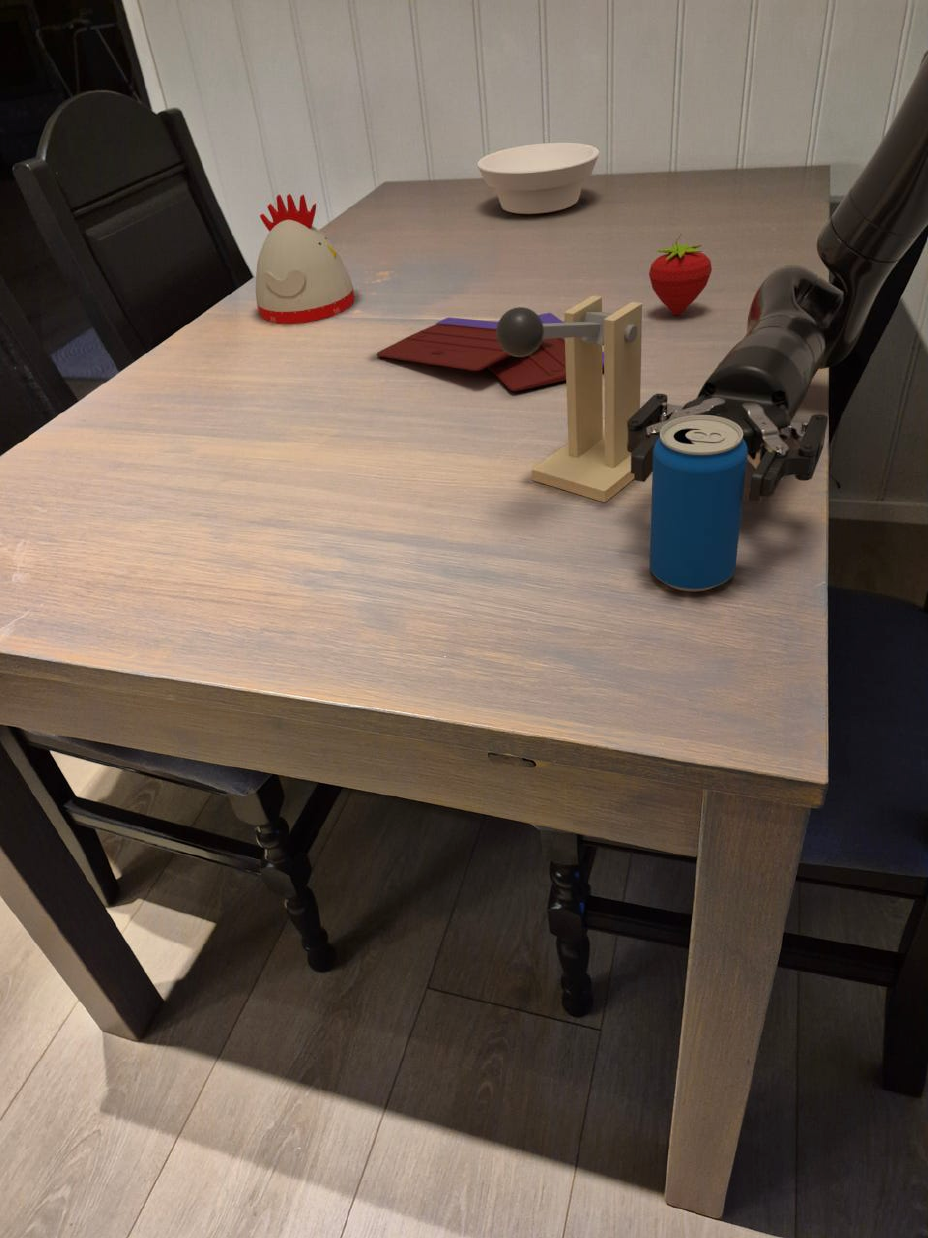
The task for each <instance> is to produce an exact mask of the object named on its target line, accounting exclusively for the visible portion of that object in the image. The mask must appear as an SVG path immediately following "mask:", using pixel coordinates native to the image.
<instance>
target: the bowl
mask: <svg viewBox="0 0 928 1238" xmlns="http://www.w3.org/2000/svg"><path fill="white" fill-rule="evenodd" d="M599 156H600V151H599V149H598V148H597V147H595V146H593V145H590V144H586V143H579V142H545V143H544V142H543V143H534V144H527V145H520V146H515V147H514V146H513V147H509V148H506V149H502V150H498V151H494V152H491V153H489V154H488V155H485V156H483V157H481V158H480V159H479V160H478V162H477V165H476V166H477V168H478V170H479V172H480V174H481V177H482V178H483V180H484V182H485V184H486V185H487V186H488V187H490V188H493V189H494V190H495V193H496V196H497V198H498V202H499V204H500V207H501V208H502V209H503V210H504V211H506V212H509V213H514V214H522V215H523V214H525V215H533V214H534V215H535V214H544V213H545V214H546V213H552V212H556V211H561V210H565V209H567V208H569V207H572V206H573V205H576V204H577V203H578V202H579V200H580V196H581V192H582V189H583V185H584V180H586V179H588V178H589V177H590V176H592V174H593V172H594V169H595V166H596V163H597V161H598V158H599Z"/></svg>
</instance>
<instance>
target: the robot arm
mask: <svg viewBox="0 0 928 1238" xmlns="http://www.w3.org/2000/svg"><path fill="white" fill-rule="evenodd" d="M927 226H928V52H927V54H926V56H925V58H924V60H923V61H922V63H921V64H920V67H919V69H918V71H917V73H916V75H915V77H914V79H913V81H912V83H911V85H910V86H909V88H908V90H907V93H906V94H905V97H904V99H903V101H902V103H901V105H900V107H899V108H898V111H897V113H896V115H895V116H894V118H893V120H892V122H891V124H890V125H889V127H888V129H887V131H886V133H885V134H884V136H883V138H882V140H881V141H880V143H879V145H878V146H877V148H876V150H875V151H874V153H873V154H872V156H871V157H870V159H869V161H868V162H867V163H866V165H865V167H864V168H863V170H862V171H861V172H860V174H859V176H858V177H857V178H856V179H855V181H854V183H853V184H852V185H851V187H850V188H849V190H848V191H847V193H846V194H845V195H844V197H843V199H842V200H841V201H840V203H839V205H838V206H837V207H836V209H835V210H834V212H833V213H832V215H831V216H830V217H829V219H828V221H827V222H826V223H825V225H824V227H823V228H822V230H821V231H820V233H819V235H818V237H817V240H816V252H817V255H818V257H819V259H820V261H821V262H822V264H823V266H824V267H826V268H827V270H828V271H829V272H830V273H831V275H832V276H834V278H835V279H836V280H837V282H838V284H840V286H841V288H842V289H840V288H838V287H836V285H834V284H832V283H830V282H829V281H827V280H826V279H824V278H822V276H819V275H818V274H816V273H815V272H814V271H812V270H810V269H809V268H807V267H805V266H802V265H798V264H789V265H784V266H781V267H778V268H777V269H775V270H773V272H771V273H770V274H769V275H768V276H767V277H766V278H765V279H764V280H763V281H762V283H761V284H760V286H759V287H758V289H757V291H756V292H755V294H754V297H753V299H752V300H751V304H750V307H749V311H748V316H747V322H746V334H745V336H744V337H742V339H741V340H740V341H739V342H737V343H736V344H735V345H733V346H732V348H731V349H730V350H729V351H728V352H727V354H726V355H725V356H724V358H723V359H722V360H721V362H719V363H718V364H717V367H716V368H715V369H714V370H713V372H712V373H711V374H710V375H709V377H708V378H707V379H706V380H705V382H704V384H703V385H702V387H701V389H700V390H699V392H698V395H697V396H696V398H695V399H693V400H690V401H687V402H686V403H685V404H684V405H677V404H670V403H668V395H667V394H665V393H655V394H653V395H652V396H651V397H650V398H649V399H648V400H647V401H646V402H645V403H644V404H643V405H642V406H640V409H639V410H638V411H637V412H636V413H635V414H634V415H633V416H632V417H631V418H630V419H629V420H628V421H627V428H628V443H627V451H628V452H630V453H631V473H632V474H634V479H633V480H634V481H636V482H641V483H645V482H646V481H647V480H648V478H649V477H650V475H651V474H653V449H654V445H655V443H656V441H657V440H658V439H659V437H660V431H661V429H662V427H663V426H664V425H665V424H667V423H668V422H670V421H672V420H674V419H677V418H681V417H685V416H692V415H711V416H718V417H722V418H726V419H728V420H731V421H733V422H735V423H736V424H738V425H739V426H740V427H741V429H742V431H743V439H744V441H745V443H746V445H747V449H748V455H747V461H748V462H749V464H751V465H752V467H753V468H754V471H753V473H752V476H751V479H750V486H749V493H748V494H749V496H748V500H749V501H751V502H755V503H760V502H761V501H762V499H763V497H764V498H765V497H766V498H770V497H771V496H772V495H774V493H775V492H776V490H777V488H778V486H779V484H780V483H781V481H783V480H784V479H785V478H786V476H792V475H794V478H795V479H796V480H798V481H801V482H804V481H810V480H812V479H813V478H814V477H813V476H814V474H815V472H816V469H817V465H818V463H819V460H820V457H821V455H822V452H823V449H824V445H825V438H826V433H827V426H828V420H829V417H828V416H827V415H826V414H821V413H818V414H817V413H815V414H812V415H811V416H810V419H809V421H805V420H804V421H793V419H794V417H795V416H796V414H797V412H798V411H799V409H800V407H801V405H802V404H803V402H804V400H805V399H806V397H807V394H808V392H809V390H810V387H811V385H812V381H813V379H814V377H815V375H816V374H817V372H818V371H819V370H824V369H829V368H831V367H834V366H836V365H838V364H839V363H841V362H842V361H844V360H845V359H846V358H847V357H848V356H849V355H850V353H852V351H853V349H854V347H855V346H856V344H857V342H858V340H859V338H860V336H861V334H862V332H863V329H864V326H865V325H866V322H867V320H868V317H869V314H870V312H871V309H872V306H873V305H874V302H875V300H876V298H877V295H878V293H880V290H881V288H882V286H883V285H884V283H885V281H886V279H887V278H888V276H889V275H890V273H891V271H893V269H894V268H895V267H896V265H897V264H898V263H899V261H900V260H901V258H903V257H904V255H905V253H906V252H907V251H908V250H909V249H910V247H911V246H912V245H913V244H914V242H916V240H917V238H918V237H919V236H921V234H922V232H923V231H924V230H925V228H926V227H927ZM788 439H792V440H793V441H794V444H795V445H797V446H798V448H797V449H794V448H793V449H791V448H789V445H788V444H787V443H786V441H788Z"/></svg>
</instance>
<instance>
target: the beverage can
mask: <svg viewBox="0 0 928 1238" xmlns="http://www.w3.org/2000/svg"><path fill="white" fill-rule="evenodd" d="M747 455H748V449H747V445H746V443H745V441H744V439H743V431H742V429H741V427H740V426H739V425H738V424H736V423H735V422H733V421H731V420H728V419H726V418H722V417H718V416H711V415H692V416H685V417H681V418H677V419H674V420H672V421H670V422H668V423H667V424H665V425H664V426H663V427H662V429H661V431H660V437H659V439H658V440H657V441H656V443H655V445H654V449H653V471H652V473H651V474H652V479H651V481H652V482H651V506H650V507H651V508H650V537H649V569H650V571H651V573H652V574H653V575H654V576H655V578H656V579H658V581H660V582H662V583H664V584H666V585H668V586H669V587H671V588H673V589H675V590H677V591H683V592H691V593H692V592H703V591H708V590H711V589H713V588H715V587H719V586H720V585H723V584H725V583H726V582H727V581H729V580H730V579H731V578H732V577H733V575H734V573H735V571H736V566H737V557H738V548H739V540H740V539H739V537H740V529H741V520H742V519H741V518H742V509H743V501H744V491H745V481H746V473H747V465H748V464H747V463H748V459H747Z"/></svg>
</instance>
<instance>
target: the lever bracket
mask: <svg viewBox="0 0 928 1238" xmlns="http://www.w3.org/2000/svg"><path fill="white" fill-rule="evenodd" d="M586 312H603V297H602V296H599V295H591V296H589V297H587V298H586V299H584V300H582V301H581V302H579V303H577V304H575V305H574V306H572V307H571V308H569V309H567V310H565V311H564V312H563V322H564V323H573V322H585V316H586ZM642 331H643V302H636V301H631V302H630V303H628V304H626V305H625V306H623V307H622V308H620V309H618V310H616V311H615V312H613V314H612V315H610V316H608V317H607V318H605V319H604V345H598V344H593V343H588V342H583V341H582V337H571V338H565V357H566V380H565V381H566V382H565V384H566V412H567V443H566V444H564V445H563V446H562V447H560V448H559V449H557V450H556V451H555V452H553V453H552V454H550V455H549V456H548V457H547V458H545V459H544V460H542V461H541V462H540V463H539V464H537V465H535V466H534V467H532V469H531V476H532V481H534V482H537V483H540V484H544V485H547V486H549V487H553V488H557V489H560V490H563V491H566V492H570V493H573V494H576V495H579V496H583V497H584V498H585V497H586V498H588V499H591V500H592V499H593V500H595V501H598V502H601V503H604V504H605V503H607V502H608V501H609V500H610V499H612V498H613V497H614V496H615V495H616V494H618V493H619V492H620V491H621V490H622V489H623V488H625V487H626V486H627V485H629V484H630V483H631V482H632V481H633V480H634V474H632V473H631V453H630V452H628V451H627V443H628V428H627V421H628V420H629V419H630V418H631V417H632V416H633V415H634V414H635V413H636V412H637V411H638V410H639V409H640V408H641V387H642V386H641V384H642V383H641V382H642V380H641V379H642V339H643V338H642ZM602 351H603V352H604V370H602ZM603 374H604V375H603ZM603 377H604V378H603ZM603 379H604V380H603ZM603 381H604V383H603ZM603 384H604V386H603ZM603 387H604V391H603ZM603 392H604V393H603ZM603 395H604V396H603ZM603 399H604V400H603ZM603 401H604V403H603ZM603 409H604V410H603Z"/></svg>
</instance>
